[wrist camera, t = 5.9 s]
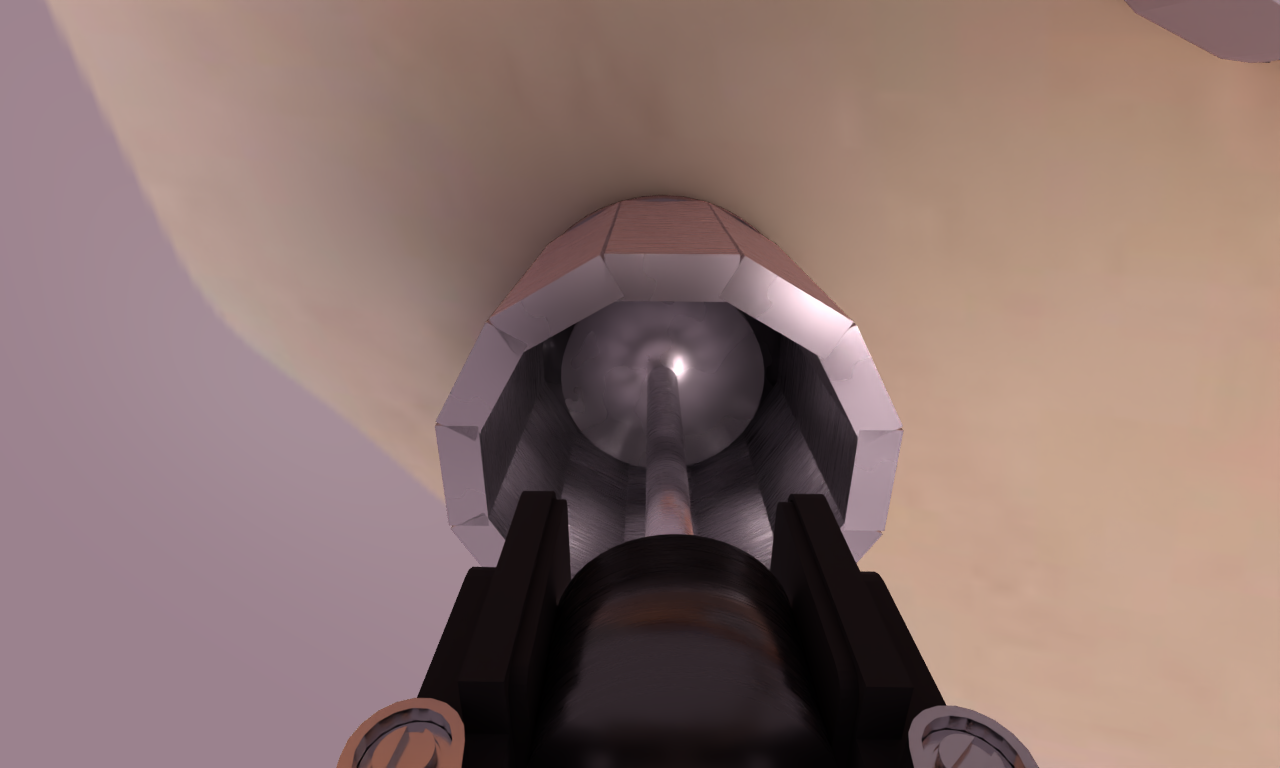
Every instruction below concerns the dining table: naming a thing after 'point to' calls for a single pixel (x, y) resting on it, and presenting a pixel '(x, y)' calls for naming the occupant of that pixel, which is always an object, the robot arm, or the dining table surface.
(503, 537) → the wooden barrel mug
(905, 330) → the dining table surface
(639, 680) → the plunger
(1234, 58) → the ashtray
